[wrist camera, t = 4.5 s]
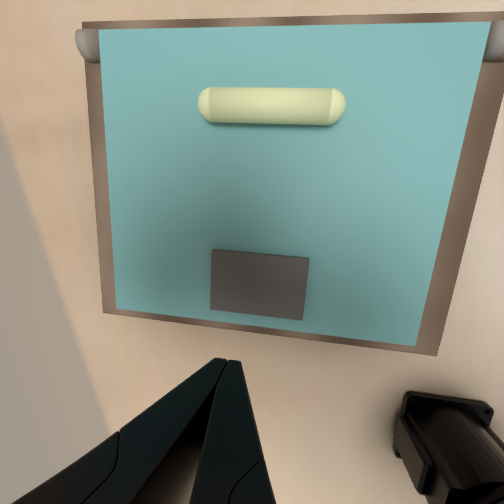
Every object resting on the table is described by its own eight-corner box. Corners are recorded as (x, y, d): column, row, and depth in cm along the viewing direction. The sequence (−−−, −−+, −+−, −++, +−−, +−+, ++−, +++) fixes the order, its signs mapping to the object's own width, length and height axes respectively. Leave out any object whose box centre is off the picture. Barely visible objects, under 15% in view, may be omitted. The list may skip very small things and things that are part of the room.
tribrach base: (479, 46, 15) (546, -7, 11) (414, 333, 20) (447, 366, 16) (114, 50, 18) (66, 8, 14) (126, 298, 23) (92, 319, 19)
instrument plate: (468, 41, 13) (523, -7, 10) (403, 333, 16) (429, 363, 14) (116, 45, 15) (74, 7, 12) (129, 300, 19) (99, 319, 16)
